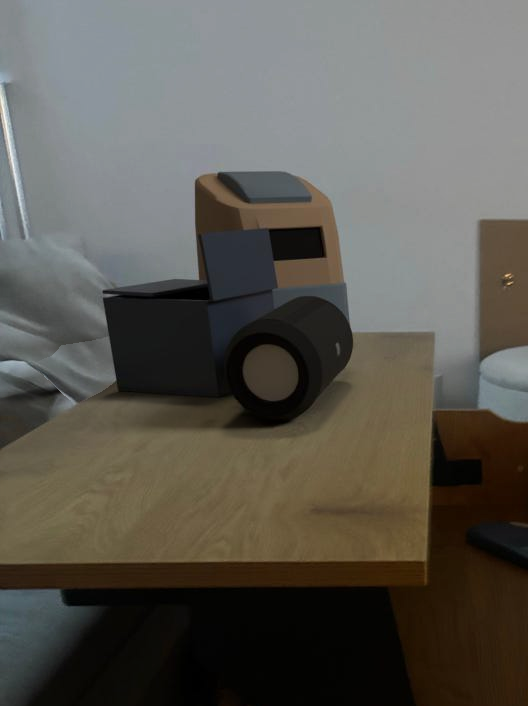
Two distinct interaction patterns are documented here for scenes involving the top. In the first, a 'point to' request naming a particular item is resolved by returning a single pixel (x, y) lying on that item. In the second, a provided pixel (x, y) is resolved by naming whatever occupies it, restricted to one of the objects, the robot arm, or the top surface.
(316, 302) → the portable speaker
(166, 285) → the flap
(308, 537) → the top surface
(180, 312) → the carton
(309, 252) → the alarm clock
